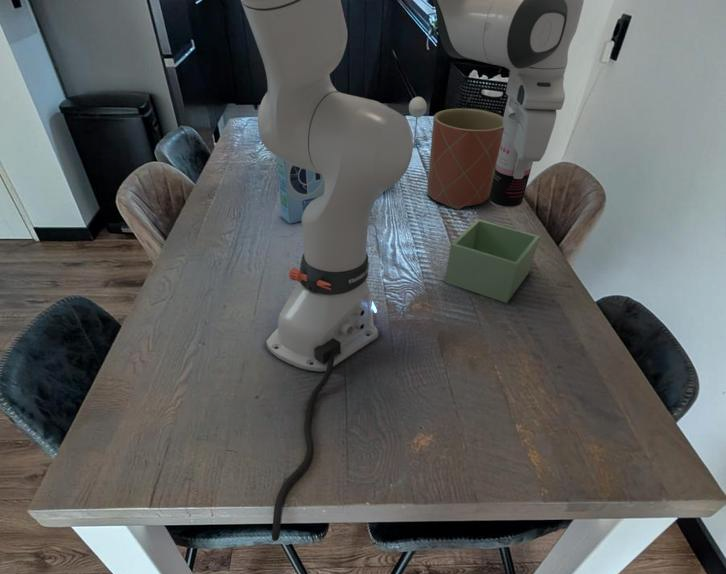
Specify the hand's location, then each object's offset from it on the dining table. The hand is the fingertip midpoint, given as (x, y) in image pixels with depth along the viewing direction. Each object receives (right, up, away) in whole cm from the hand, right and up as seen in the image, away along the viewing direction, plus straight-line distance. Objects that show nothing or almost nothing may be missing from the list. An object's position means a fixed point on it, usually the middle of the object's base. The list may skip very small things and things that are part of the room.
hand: (513, 169), depth 91 cm
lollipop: (-11, +46, +75) cm, 89 cm away
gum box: (-41, +7, +38) cm, 56 cm away
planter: (-1, +16, +47) cm, 50 cm away
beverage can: (0, -4, +5) cm, 6 cm away
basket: (-1, -16, +17) cm, 23 cm away
